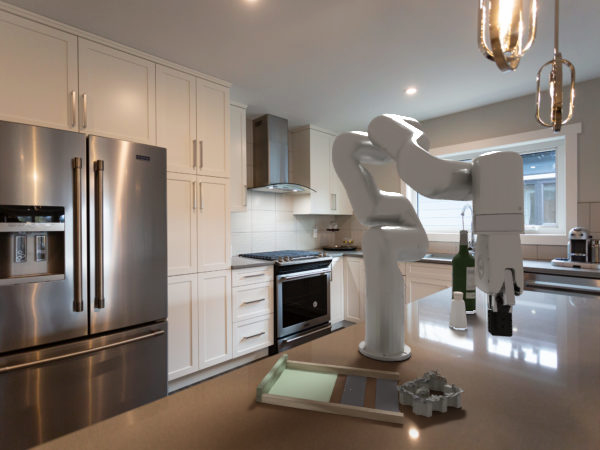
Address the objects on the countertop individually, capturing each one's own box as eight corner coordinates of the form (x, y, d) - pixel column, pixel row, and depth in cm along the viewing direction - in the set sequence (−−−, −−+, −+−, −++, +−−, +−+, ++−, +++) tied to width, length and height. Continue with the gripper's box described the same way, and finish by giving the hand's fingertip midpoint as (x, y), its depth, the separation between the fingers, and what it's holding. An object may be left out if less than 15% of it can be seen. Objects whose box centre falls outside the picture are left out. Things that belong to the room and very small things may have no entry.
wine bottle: (475, 316, 114) (475, 230, 114) (450, 312, 118) (450, 230, 118) (476, 311, 121) (476, 230, 121) (452, 308, 125) (452, 230, 125)
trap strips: (347, 375, 69) (347, 374, 69) (396, 381, 66) (396, 380, 66) (338, 411, 55) (338, 410, 55) (399, 421, 53) (399, 419, 53)
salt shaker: (453, 330, 98) (453, 294, 98) (445, 325, 104) (445, 290, 104) (471, 330, 98) (471, 294, 98) (462, 325, 104) (462, 290, 104)
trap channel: (283, 364, 74) (283, 353, 74) (399, 378, 67) (399, 366, 67) (256, 401, 58) (256, 387, 58) (403, 424, 52) (403, 408, 52)
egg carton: (437, 389, 64) (437, 367, 64) (470, 409, 57) (470, 385, 57) (391, 398, 60) (392, 376, 60) (420, 421, 53) (420, 396, 53)
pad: (286, 368, 72) (286, 367, 72) (338, 374, 69) (338, 373, 69) (263, 400, 59) (263, 399, 59) (326, 410, 56) (326, 408, 56)
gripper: (463, 227, 64) (465, 321, 63) (486, 225, 49) (488, 348, 49) (506, 226, 62) (508, 324, 61) (543, 224, 47) (547, 352, 47)
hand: (500, 334), depth 55 cm, fingers closed
